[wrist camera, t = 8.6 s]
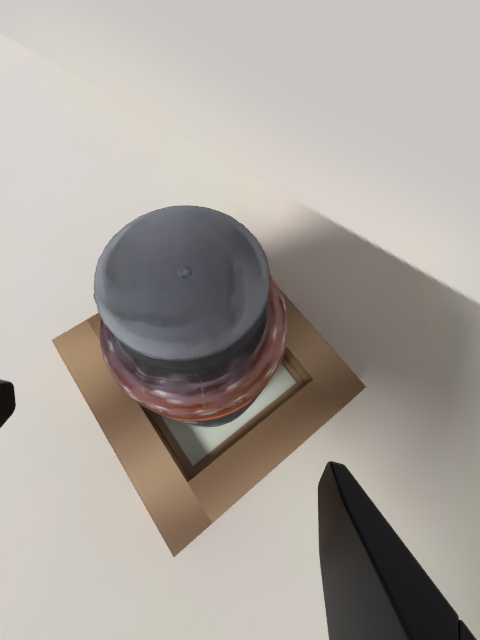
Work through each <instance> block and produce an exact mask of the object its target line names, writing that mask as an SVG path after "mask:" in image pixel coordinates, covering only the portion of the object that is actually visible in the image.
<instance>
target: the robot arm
mask: <svg viewBox="0 0 480 640" xmlns="http://www.w3.org/2000/svg"><path fill="white" fill-rule="evenodd" d="M15 406H16V403H15V394H14V386H13V384H12V383H11V382H9V381H5V380H1V379H0V428H1V427H2V426H3V424H4V423H5V422H6V421H7V420H8V418H9V417H10V416H11V415H12V414H13V412H14V410H15ZM318 523H319V555H320V566H321V574H322V583H323V591H324V599H325V608H326V616H327V625H328V633H329V640H477V639H476V638H475V637H474V635H473V634H472V633H471V631H470V630H469V629H468V627H467V626H466V625H465V624H464V622H463V621H462V620H459V617H458V615H457V613H456V612H455V610H454V609H453V608H452V607H451V605H450V604H449V603H448V601H447V600H446V599H445V597H444V596H443V595H442V593H441V592H440V591H439V589H438V588H437V587H436V585H435V584H434V583H433V581H432V580H431V579H430V577H429V576H428V575H427V573H426V572H425V571H424V569H423V568H422V567H421V565H420V564H419V563H418V561H417V560H416V559H415V557H414V556H413V555H412V554H411V552H410V551H409V550H408V548H407V547H406V546H405V544H404V543H403V542H402V540H401V539H400V538H399V536H398V535H397V534H396V532H395V531H394V530H393V528H392V527H391V526H390V524H389V523H388V522H387V520H386V519H385V518H384V516H383V515H382V514H381V512H380V511H379V510H378V508H377V507H376V506H375V504H374V503H373V502H372V501H371V499H370V498H369V497H368V495H367V494H366V493H365V491H364V490H363V489H362V487H361V486H360V485H359V483H358V482H357V481H356V479H355V478H354V477H353V475H352V474H351V473H350V471H349V470H348V469H347V467H346V466H345V465H343V464H340V463H336V462H332V461H330V462H328V463H327V465H326V467H325V470H324V472H323V474H322V476H321V479H320V481H319V485H318Z"/></svg>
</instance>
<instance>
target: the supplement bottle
mask: <svg viewBox="0 0 480 640" xmlns="http://www.w3.org/2000/svg"><path fill="white" fill-rule="evenodd" d="M94 292H95V293H94V299H95V302H96V304H97V308H98V312H99V314H100V325H99V338H100V346H101V349H102V356H103V359H104V361H105V363H106V366H107V368H108V369H109V371H110V373H111V375H112V376H113V378H114V380H115V381H116V382H117V384H118V385H119V386H120V387H121V389H122V390H124V391H125V392H126V393H127V394H128V395H129V396H130V397H131V398H132V399H133V400H135V401H136V402H137V403H139V404H140V405H142V406H143V407H145V408H147V409H149V410H151V411H153V412H156V413H158V414H160V415H162V416H164V417H168V418H171V419H174V420H177V421H180V422H183V423H186V424H189V425H193V426H198V427H217V426H221V425H224V424H227V423H230V422H232V421H233V420H235V419H237V418H238V417H240V416H241V415H242V414H243V413H244V412H245V411H246V410H247V409H248V408H249V407H250V405H252V404H253V402H254V401H255V400H256V399H257V397H258V396H259V395H260V394H261V392H262V391H263V389H264V388H265V387H266V386H267V384H268V383H269V382H270V380H271V379H272V377H273V375H274V374H275V372H276V371H277V369H278V367H279V365H280V363H281V360H282V358H283V355H284V351H285V347H286V342H287V336H288V316H287V310H286V305H285V301H284V299H283V296H282V294H281V291H280V289H279V287H278V286H277V284H276V281H275V280H274V279H273V277H272V276H271V274H270V271H269V266H268V262H267V259H266V256H265V253H264V251H263V249H262V247H261V245H260V244H259V242H258V241H257V239H256V238H255V237H254V235H253V234H252V233H251V232H250V231H249V230H248V229H247V228H246V227H245V226H244V225H243V224H241V223H239V222H238V221H237V220H235V219H234V218H232V217H231V216H229V215H227V214H224V213H222V212H219V211H216V210H213V209H210V208H205V207H198V206H171V207H166V208H162V209H158V210H155V211H152V212H149V213H147V214H145V215H142V216H140V217H138V218H137V219H135V220H133V221H132V222H130V223H128V224H127V225H126V226H125V227H123V228H122V229H121V230H120V231H119V232H118V233H117V234H115V235H114V236H113V238H112V239H111V240H110V241H109V243H108V244H107V246H106V247H105V249H104V251H103V253H102V255H101V256H100V258H99V259H98V263H97V266H96V272H95V280H94Z"/></svg>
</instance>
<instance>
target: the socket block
mask: <svg viewBox="0 0 480 640" xmlns="http://www.w3.org/2000/svg"><path fill="white" fill-rule="evenodd" d="M280 291H281V290H280ZM281 294H282V296H283V299H284V301H285V305H286V310H287V316H288V336H287V342H286V347H285V351H284V355H283V358H282V360H281V363H280V365H279V367H278V369H277V371H276V372H275V374H274V375H273V377H272V379H271V380H270V382H269V383H268V384H267V386H266V387H265V388H264V389H263V391H262V392H261V394H260V395H259V396H258V397H257V399H256V400H255V401H254V402H253V404H252V405H250V407H249V408H248V409H247V410H246V411H245V412H244V413H243V414H242V415H241V416H240V417H238V418H237V419H235V420H233V421H232V422H230V423H227V424H224V425H221V426H217V427H198V426H193V425H189V424H186V423H183V422H180V421H177V420H174V419H171V418H168V417H164V416H162V415H160V414H158V413H156V412H153V411H151V410H149V409H147V408H145V407H143V406H142V405H140V404H139V403H137V402H136V401H135V400H133V399H132V398H131V397H130V396H129V395H128V394H127V393H126V392H125V391H124V390H122V389H121V387H120V386H119V385H118V384H117V382H116V381H115V380H114V378H113V376H112V375H111V373H110V371H109V369H108V368H107V366H106V363H105V361H104V359H103V356H102V349H101V346H100V338H99V325H100V314H99V313H97V314H96V315H94V316H92V317H91V318H89V319H87V320H85V321H84V322H82V323H80V324H79V325H77V326H75V327H73V328H72V329H70V330H68V331H67V332H65V333H63V334H61V335H60V336H58V337H56V338H55V339H53V340H52V342H53V343H54V345H55V347H56V349H57V350H58V352H59V354H60V356H61V358H62V359H63V361H64V363H65V365H66V366H67V368H68V370H69V372H70V374H71V375H72V377H73V379H74V381H75V382H76V384H77V386H78V388H79V390H80V391H81V393H82V395H83V397H84V398H85V400H86V402H87V404H88V406H89V407H90V409H91V411H92V413H93V414H94V416H95V418H96V420H97V422H98V423H99V425H100V427H101V429H102V430H103V432H104V434H105V436H106V438H107V439H108V441H109V443H110V445H111V446H112V448H113V450H114V452H115V453H116V455H117V457H118V459H119V461H120V462H121V464H122V466H123V468H124V469H125V471H126V473H127V475H128V477H129V478H130V480H131V482H132V484H133V485H134V487H135V489H136V491H137V493H138V494H139V496H140V498H141V500H142V501H143V503H144V505H145V507H146V509H147V510H148V512H149V514H150V516H151V517H152V519H153V521H154V523H155V525H156V526H157V528H158V530H159V532H160V533H161V535H162V537H163V539H164V541H165V542H166V544H167V546H168V548H169V549H170V551H171V553H172V555H173V557H175V556H176V555H177V554H178V553H179V552H180V551H181V550H183V549H184V548H185V547H186V546H187V545H188V544H189V543H190V542H192V541H193V540H194V539H195V538H196V537H197V536H198V535H200V534H201V533H202V532H203V531H204V530H205V529H206V528H207V527H209V526H210V525H211V524H212V523H213V522H214V521H215V520H216V519H218V518H219V517H220V516H221V515H222V514H223V513H224V512H225V511H227V510H228V509H229V508H230V507H231V506H232V505H233V504H235V503H236V502H237V501H238V500H239V499H240V498H241V497H242V496H244V495H245V494H246V493H247V492H248V491H249V490H250V489H251V488H253V487H254V486H255V485H256V484H257V483H258V482H259V481H260V480H262V479H263V478H264V477H265V476H266V475H267V474H268V473H270V472H271V471H272V470H273V469H274V468H275V467H276V466H277V465H279V464H280V463H281V462H282V461H283V460H284V459H285V458H286V457H288V456H289V455H290V454H291V453H292V452H293V451H294V450H295V449H297V448H298V447H299V446H300V445H301V444H302V443H303V442H304V441H306V440H307V439H308V438H309V437H310V436H311V435H312V434H314V433H315V432H316V431H317V430H318V429H319V428H320V427H321V426H323V425H324V424H325V423H326V422H327V421H328V420H329V419H330V418H332V417H333V416H334V415H335V414H336V413H337V412H338V411H339V410H341V409H342V408H343V407H344V406H345V405H346V404H347V403H349V402H350V401H351V400H352V399H353V398H354V397H355V396H356V395H358V394H359V393H360V392H361V391H362V390H363V389H364V388H365V385H364V384H363V383H362V382H361V381H360V380H359V379H358V377H357V376H356V375H355V374H354V373H353V372H352V371H351V369H350V368H349V367H348V366H347V365H346V364H345V363H344V362H343V360H342V359H341V358H340V357H339V356H338V355H337V354H336V352H335V351H334V350H333V349H332V348H331V347H330V346H329V344H328V343H327V342H326V341H325V340H324V339H323V338H322V337H321V335H320V334H319V333H318V332H317V331H316V330H315V329H314V327H313V326H312V325H311V324H310V323H309V322H308V321H307V319H306V318H305V317H304V316H303V315H302V314H301V313H300V312H299V310H298V309H297V308H296V307H295V306H294V305H293V304H292V302H291V301H290V300H289V299H288V298H287V297H286V296H285V294H284V293H283V292H282V291H281Z"/></svg>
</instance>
